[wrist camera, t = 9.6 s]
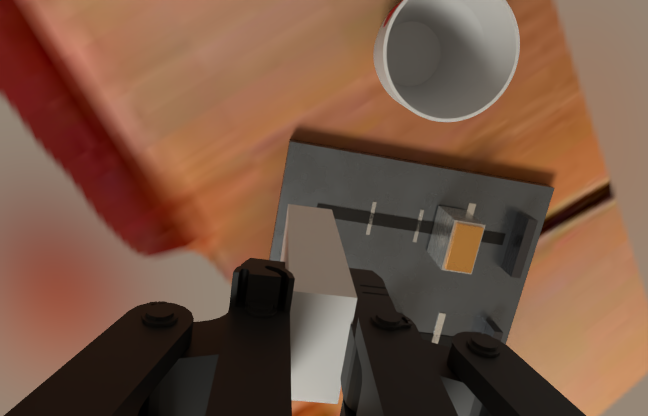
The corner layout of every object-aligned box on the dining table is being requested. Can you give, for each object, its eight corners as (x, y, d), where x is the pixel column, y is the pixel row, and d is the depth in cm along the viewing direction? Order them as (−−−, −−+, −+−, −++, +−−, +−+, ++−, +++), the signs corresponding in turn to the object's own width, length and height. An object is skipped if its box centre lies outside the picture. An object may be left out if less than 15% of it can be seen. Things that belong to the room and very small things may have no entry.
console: (289, 139, 40) (290, 145, 37) (547, 184, 43) (567, 193, 40) (251, 360, 45) (249, 382, 42) (484, 388, 48) (498, 410, 45)
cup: (452, -14, 38) (510, -40, 28) (468, 94, 40) (527, 103, 30) (347, 13, 38) (369, -5, 28) (369, 119, 40) (398, 136, 30)
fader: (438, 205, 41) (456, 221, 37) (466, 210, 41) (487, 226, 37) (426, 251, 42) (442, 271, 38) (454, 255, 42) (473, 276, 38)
